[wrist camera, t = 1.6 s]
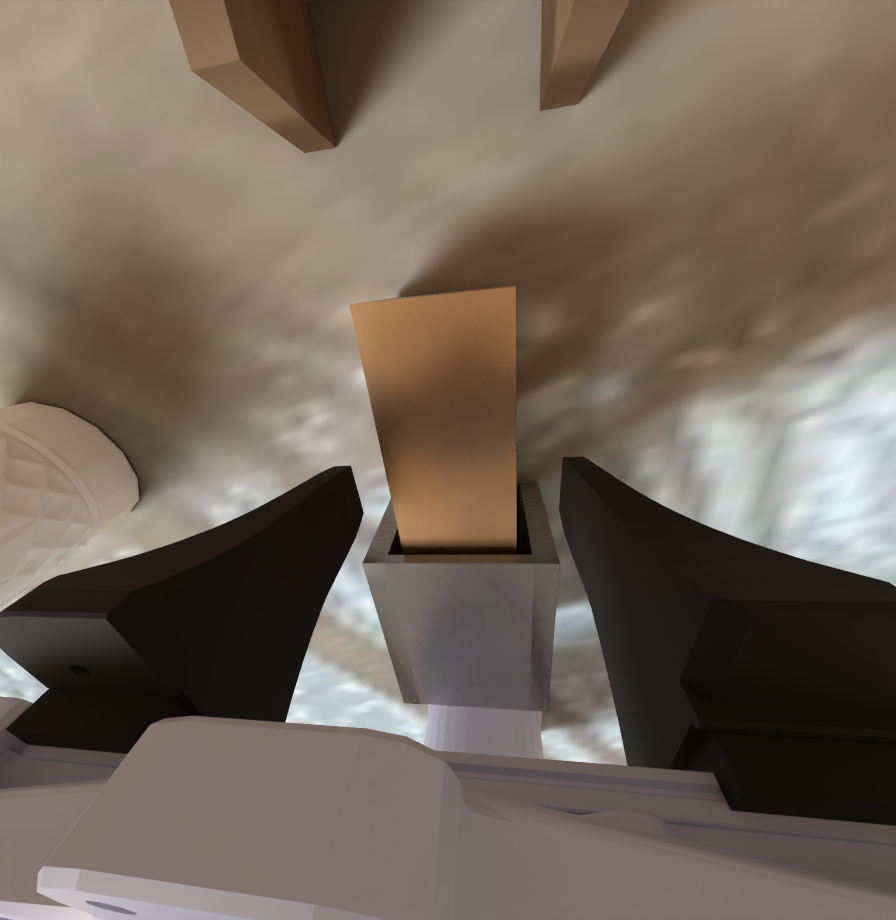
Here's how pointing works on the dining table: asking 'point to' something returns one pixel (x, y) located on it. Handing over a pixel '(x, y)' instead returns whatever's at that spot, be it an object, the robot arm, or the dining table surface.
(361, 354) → the tan wooden bar
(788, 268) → the dining table surface
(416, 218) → the dining table surface
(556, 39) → the socket
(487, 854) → the robot arm
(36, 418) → the white cup
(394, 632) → the sleeve
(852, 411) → the dining table surface
